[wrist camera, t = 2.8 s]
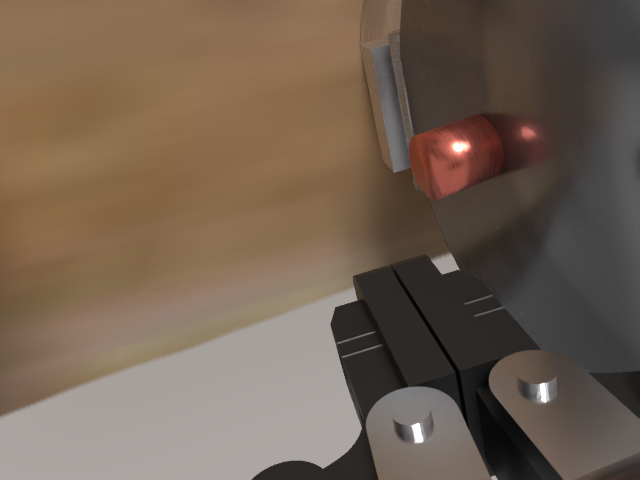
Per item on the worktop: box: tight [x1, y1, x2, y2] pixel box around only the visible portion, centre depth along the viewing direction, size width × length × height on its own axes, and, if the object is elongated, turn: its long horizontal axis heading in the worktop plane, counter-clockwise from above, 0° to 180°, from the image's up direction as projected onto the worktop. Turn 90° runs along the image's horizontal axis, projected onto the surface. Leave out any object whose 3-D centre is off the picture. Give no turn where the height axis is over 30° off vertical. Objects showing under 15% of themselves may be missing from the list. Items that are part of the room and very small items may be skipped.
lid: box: [388, 0, 640, 373], centre depth 15 cm, size 20×17×3 cm
